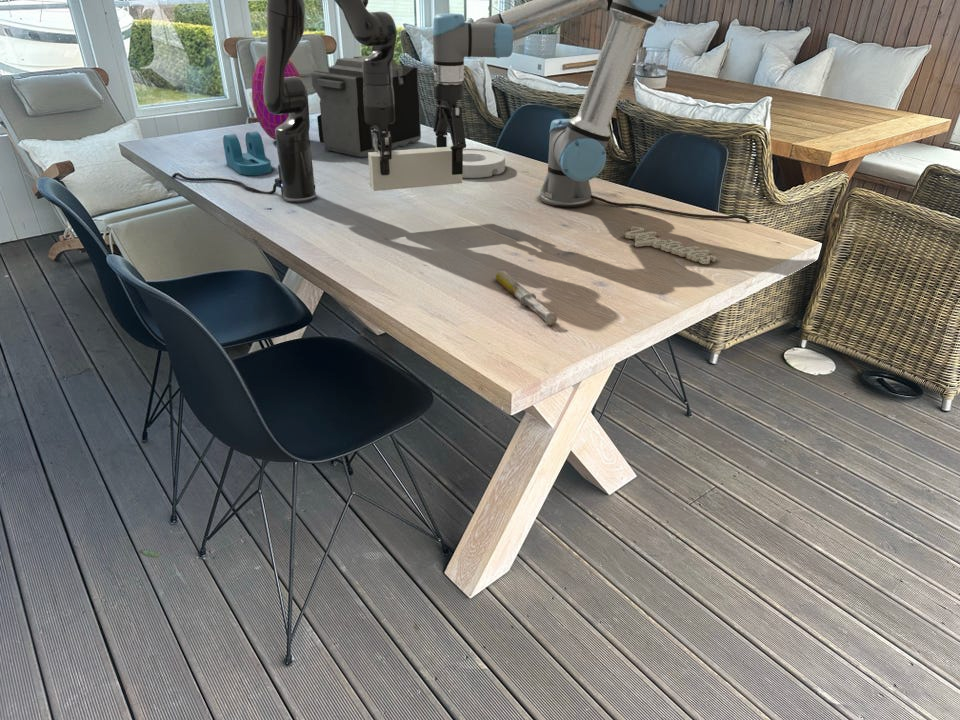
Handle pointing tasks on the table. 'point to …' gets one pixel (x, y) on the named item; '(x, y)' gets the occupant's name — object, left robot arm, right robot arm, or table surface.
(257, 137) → the camera mount
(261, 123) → the decorative egg
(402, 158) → the bar
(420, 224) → the table surface
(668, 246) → the decorative sign
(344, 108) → the tool box
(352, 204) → the table surface
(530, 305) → the syringe
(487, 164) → the ashtray
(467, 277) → the table surface
